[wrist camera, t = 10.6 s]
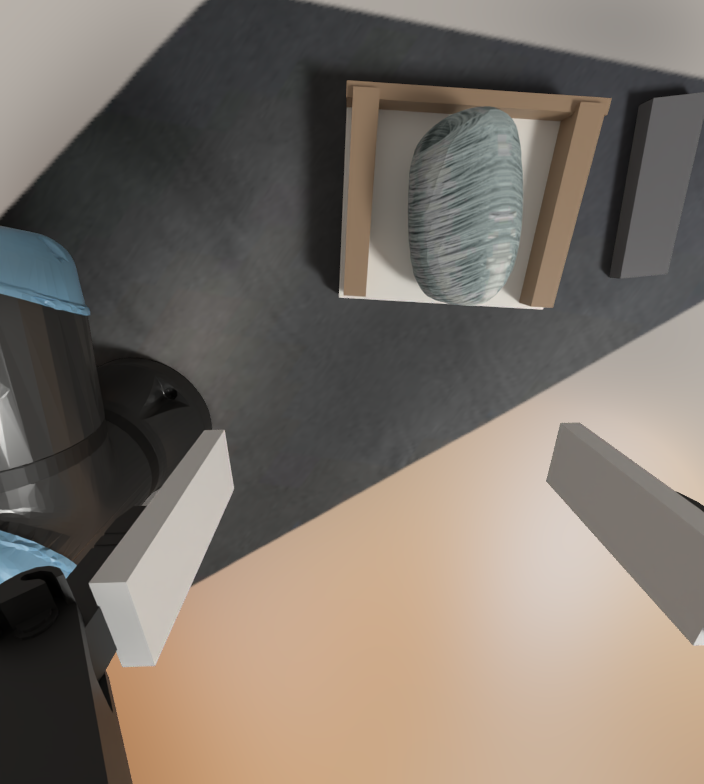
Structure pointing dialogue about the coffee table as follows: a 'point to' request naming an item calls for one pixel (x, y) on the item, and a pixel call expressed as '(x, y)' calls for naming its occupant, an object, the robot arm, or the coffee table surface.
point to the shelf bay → (391, 183)
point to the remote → (656, 184)
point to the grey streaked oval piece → (466, 206)
